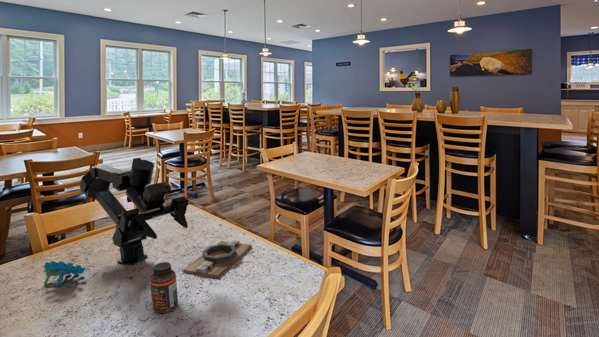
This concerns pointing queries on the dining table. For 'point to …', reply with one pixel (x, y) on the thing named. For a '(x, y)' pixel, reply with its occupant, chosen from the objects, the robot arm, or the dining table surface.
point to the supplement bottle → (163, 288)
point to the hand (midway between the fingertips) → (172, 232)
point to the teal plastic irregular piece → (60, 270)
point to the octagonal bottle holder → (217, 259)
